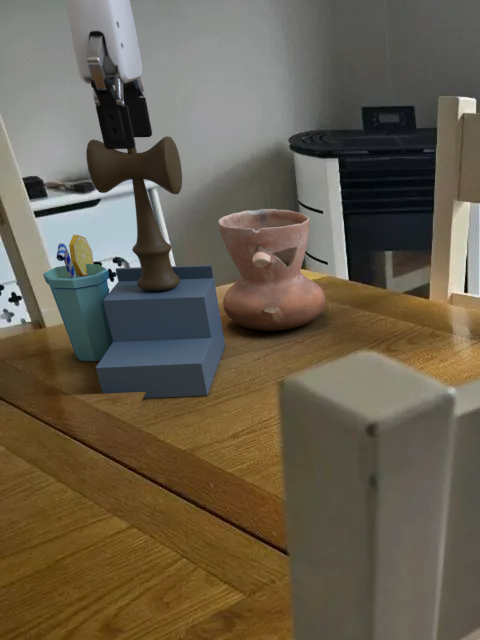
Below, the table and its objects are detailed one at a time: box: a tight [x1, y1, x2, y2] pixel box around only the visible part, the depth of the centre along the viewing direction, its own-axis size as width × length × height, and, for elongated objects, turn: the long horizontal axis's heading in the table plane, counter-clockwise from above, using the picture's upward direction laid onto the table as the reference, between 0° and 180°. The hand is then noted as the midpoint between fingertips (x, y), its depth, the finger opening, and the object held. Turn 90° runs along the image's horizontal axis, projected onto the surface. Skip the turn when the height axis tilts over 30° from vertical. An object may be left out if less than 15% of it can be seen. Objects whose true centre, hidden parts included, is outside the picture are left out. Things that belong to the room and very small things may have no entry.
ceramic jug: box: [217, 208, 326, 332], centre depth 117 cm, size 18×14×14 cm
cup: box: [42, 234, 113, 362], centre depth 105 cm, size 14×8×15 cm, turn 14°
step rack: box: [95, 264, 226, 400], centre depth 102 cm, size 12×18×10 cm, turn 6°
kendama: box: [85, 104, 183, 291], centre depth 97 cm, size 6×10×20 cm, turn 92°
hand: (130, 142), depth 94 cm, fingers open, 9 cm apart
